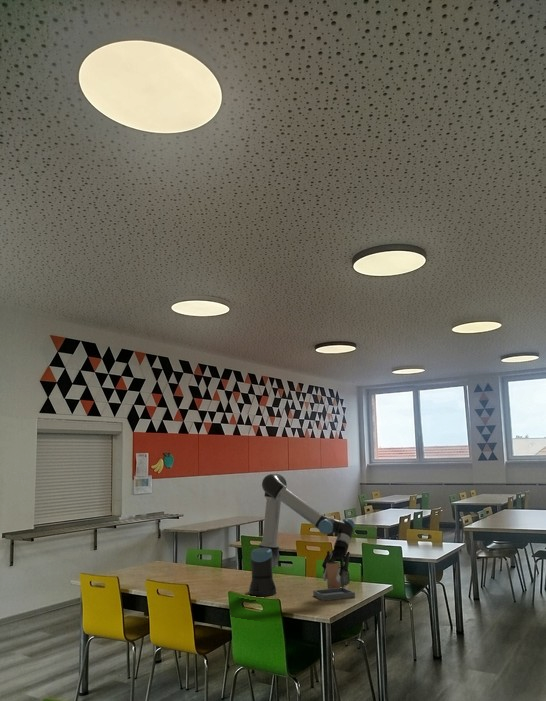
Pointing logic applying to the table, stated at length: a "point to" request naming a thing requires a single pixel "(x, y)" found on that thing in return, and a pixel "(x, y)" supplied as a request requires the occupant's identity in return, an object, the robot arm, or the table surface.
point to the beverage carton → (344, 578)
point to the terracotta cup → (332, 574)
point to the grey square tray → (333, 593)
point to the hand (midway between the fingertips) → (330, 580)
